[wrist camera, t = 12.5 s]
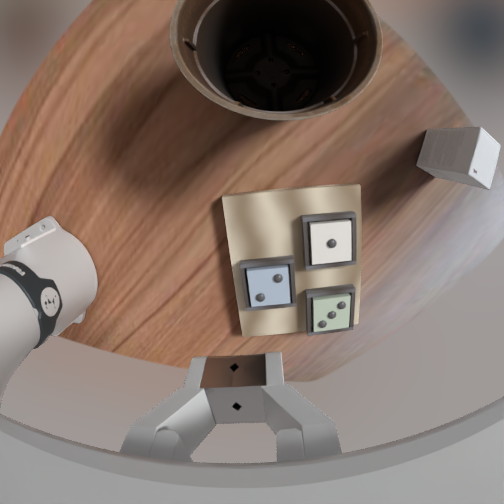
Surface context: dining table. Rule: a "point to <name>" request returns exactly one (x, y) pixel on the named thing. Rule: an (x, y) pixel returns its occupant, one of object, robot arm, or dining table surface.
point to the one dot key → (330, 241)
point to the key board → (291, 252)
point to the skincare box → (460, 155)
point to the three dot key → (330, 312)
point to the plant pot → (277, 53)
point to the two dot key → (268, 285)
